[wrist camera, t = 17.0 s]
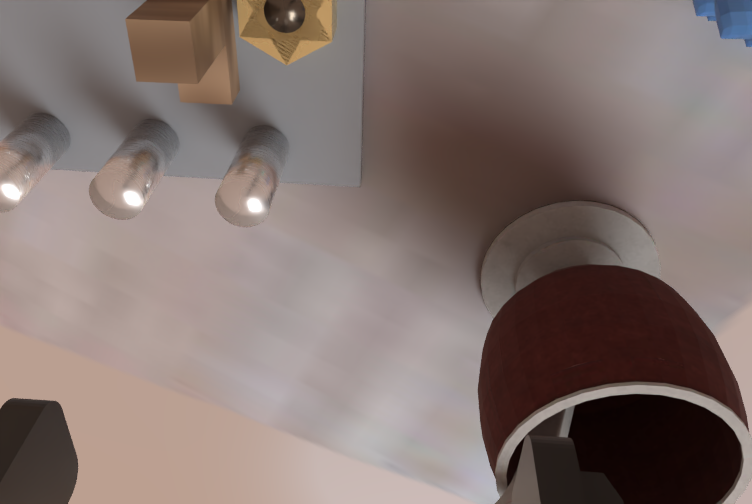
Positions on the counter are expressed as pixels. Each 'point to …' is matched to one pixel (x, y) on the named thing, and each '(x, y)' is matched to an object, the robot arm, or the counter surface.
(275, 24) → the nut
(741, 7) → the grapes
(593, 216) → the mate gourd
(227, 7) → the wooden stepped block
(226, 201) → the spacers
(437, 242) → the counter surface
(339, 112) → the board
